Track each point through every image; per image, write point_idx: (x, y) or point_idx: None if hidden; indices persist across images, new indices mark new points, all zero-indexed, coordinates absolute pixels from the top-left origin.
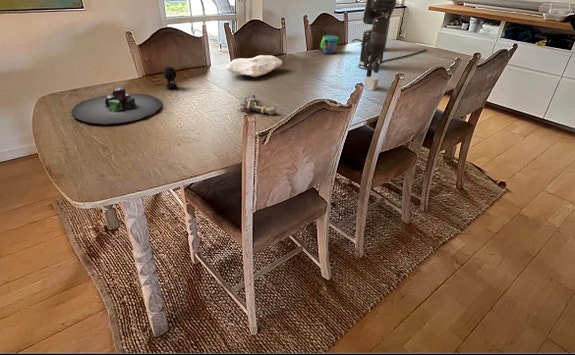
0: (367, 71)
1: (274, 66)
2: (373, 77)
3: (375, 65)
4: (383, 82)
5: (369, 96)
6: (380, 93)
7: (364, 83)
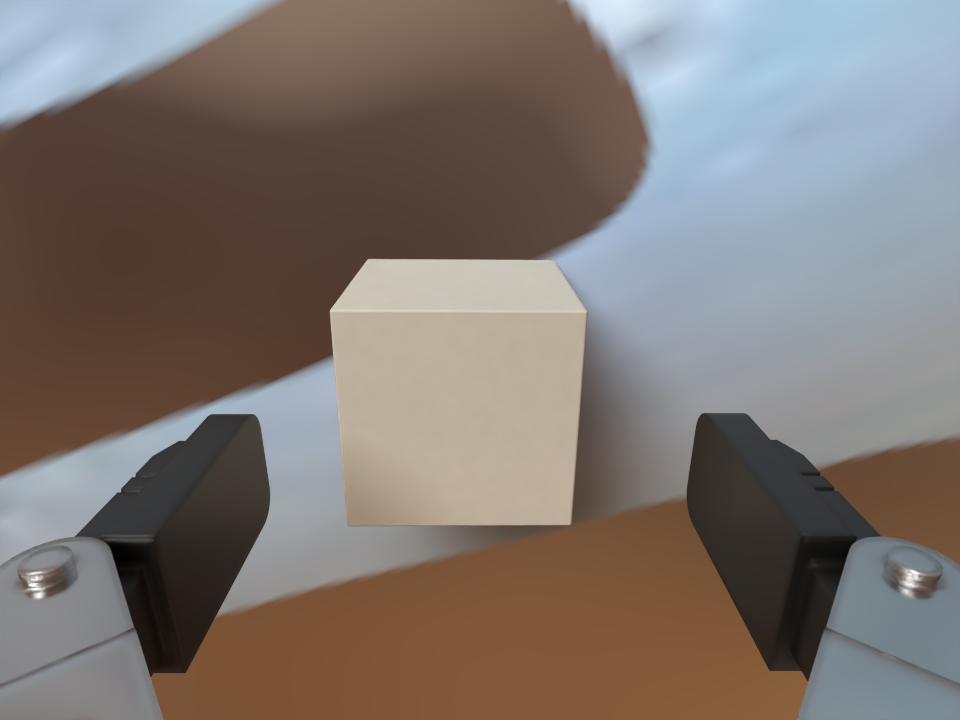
0: (93, 527)
1: None
2: (567, 417)
3: (790, 558)
4: (915, 382)
5: (100, 496)
6: (350, 553)
7: (352, 285)
